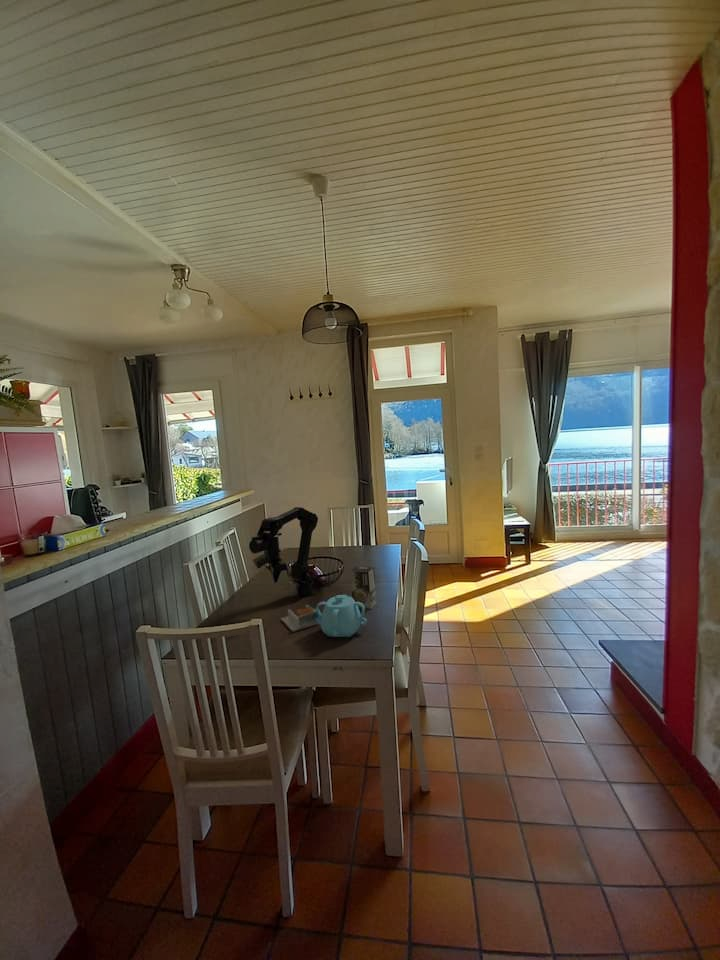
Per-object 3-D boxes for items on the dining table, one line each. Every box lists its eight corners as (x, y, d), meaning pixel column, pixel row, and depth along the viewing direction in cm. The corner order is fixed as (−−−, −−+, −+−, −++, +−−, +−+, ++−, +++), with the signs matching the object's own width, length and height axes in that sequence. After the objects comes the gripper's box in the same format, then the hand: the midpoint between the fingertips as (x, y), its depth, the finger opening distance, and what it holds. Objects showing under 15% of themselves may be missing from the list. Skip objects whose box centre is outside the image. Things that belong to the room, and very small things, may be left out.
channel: (315, 610, 166) (314, 599, 165) (328, 621, 155) (327, 608, 154) (281, 620, 158) (280, 608, 158) (292, 632, 147) (291, 619, 147)
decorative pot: (371, 633, 142) (369, 597, 141) (331, 646, 134) (328, 608, 133) (351, 618, 156) (349, 585, 155) (314, 628, 149) (311, 594, 148)
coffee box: (377, 603, 169) (374, 567, 167) (371, 609, 163) (368, 572, 162) (358, 601, 173) (355, 565, 171) (352, 606, 167) (349, 570, 165)
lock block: (309, 617, 159) (308, 606, 159) (316, 623, 154) (316, 612, 153) (297, 621, 157) (297, 610, 156) (305, 627, 151) (304, 615, 150)
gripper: (248, 546, 172) (251, 581, 173) (260, 555, 156) (263, 593, 157) (272, 542, 177) (275, 575, 178) (286, 550, 161) (289, 586, 162)
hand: (275, 582), depth 169 cm, fingers closed
